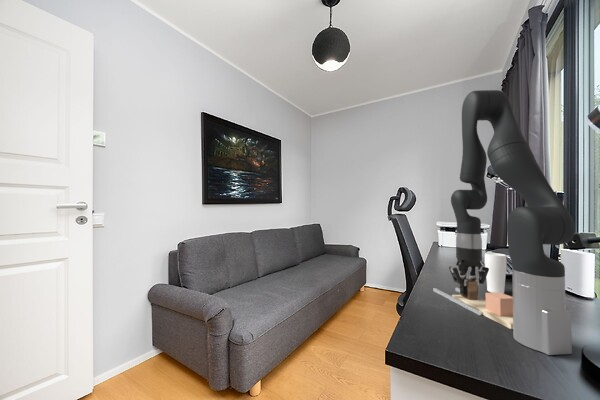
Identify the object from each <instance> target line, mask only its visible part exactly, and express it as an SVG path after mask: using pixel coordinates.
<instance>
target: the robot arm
mask: <svg viewBox="0 0 600 400" xmlns="http://www.w3.org/2000/svg"><path fill="white" fill-rule="evenodd" d="M478 121H487V122H489V123H490V124H491V127H492V130H493V135H492V138H491V139H490V141H489V144H488V147H487V152H486V151H485V149H484V145H483V144H482V141H481V139H480V138H479V135H478V133H479V132H478ZM461 136H462V138H461V139H462V140H461V142H462V157H461V165H460V173H459V181H460V182H461V183H465V184H468V185H469V184H470V187H471V189H456V190H455V191H453V193H452V194H451V196H450V203H451V204H450V205H451V207H452V209H453V212H454V215H455V220H456V238H455V251H456V252H455V257H456V260H457V261H456V263H455V265H453V266H449V267H448V269H449V272H450V274H451V277H452V279H453V282H455V283H457V284H459V288H460V292H459V293H460V294H459V295H462V296H465V297H467V283H468V280H469V279H471V280H473V281H476V282H478V287H479V285H484V284H485V280H486V276H487V274H488V271H489V268H487V267H485V265H482V263H481V262H482V260H483V240H482V222H481V218H480V217H477V216H473V215H470V214H469V212H468V211H467V210H469V211H470V210H471V211H472V210H475V211H476V210H482V209H483V208H484V207H486V204H487V202H488V194H487V189H486V182H485V176H486V175H485V174H486V169H487V163H488V162H487V159H488V161H489V163H490V165H491V168H492V170H493V173H494V174H495V175H496V176H497V177H498V178H499V179H500V180H502V181H503V182H504V183H505V184H506V185H508V186H509V187H510V188H511V189H513V190H514V191H515V192H517V194H519V195H520V197H522V199H523V200H524V202H525V203H526V205H527V206H518V207H515V208H514V209H512V210H511V211H510V213H509V214H508V218H507V222H506V233H507V234H506V235H507V244H508V245H507V247H508V255H509V259H510V261H511V265H512V266H511V267H512V297H513V329H512V330H513V331H512V332H513V334H512V335H513V339H514V340H515V341H516V342H518V343H519V344H520V345H523V346H525V347H527V348H530V349H532V350H535V351H539V352H541V353H543V354H546V355H548V356H554V355H556V356H557V355H572V354H573V347H572V345H573V344H572V343H573V342H572V338H573V337H572V312H571V311H570V310H568V309H566V308H567V307H566V268H565V267H566V266H565V265H564V264H563V263H562V262H561V261H558V260H555V259H553V258H550V257H549V256H547V255H546V253H545V251H544V250H545V249H544V245H564V244H569V242H571V241H572V240H573V239H574V236H575V232H576V227H575V226H576V225H575V223H574V219H573V217H572V215H571V214H570V212H569V211H568V209H567V208H566V206H565V205H564V203H563V202H562V200H561V199H560V197H559V196H558V195H557V194H556V192H555V191H554V189H553V188H552V186H551V185H550V183H549V181H548V180H547V178H546V175H544V173H543V171H542V169H541V167H540V166H539V163H538V162H537V160H536V156H535V155H534V153H533V151H532V149H531V147H530V145H529V144H528V141H527V140H526V139H525V136H524V135H523V133H522V131H521V129H520V126H519V125H518V122H517V119H516V117H515V115H514V111H513V108H512V104H511V102H510V99H509V96H508V95H507V94H506V93H505V91H502V90H498V89H497V90H495V89H492V90H491V89H489V90H488V89H486V90H479V89H478V90H473V91H471V92H469V93H468V94H467V95H466V96H465V98H464V100H463V103H462V107H461ZM463 279H464V280H463Z"/></svg>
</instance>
